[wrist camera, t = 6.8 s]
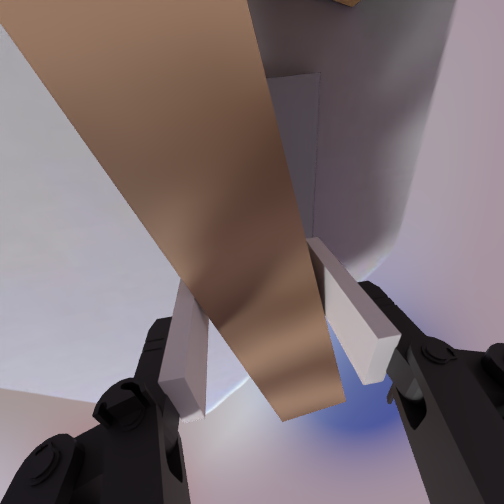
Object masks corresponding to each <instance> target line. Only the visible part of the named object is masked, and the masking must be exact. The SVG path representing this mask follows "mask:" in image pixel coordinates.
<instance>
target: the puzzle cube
mask: <svg viewBox="0 0 504 504" xmlns="http://www.w3.org/2000/svg"><path fill="white" fill-rule="evenodd" d="M334 1H337V2H340V3H342V4H345V5H348V6H350V7H353V6H354V5H356V4H357V3H358V2H359V1H361V0H334Z"/></svg>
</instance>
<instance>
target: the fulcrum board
mask: <svg viewBox="0 0 504 504" xmlns="http://www.w3.org/2000/svg"><path fill="white" fill-rule="evenodd" d="M320 73H321V72H318V73H309V74H301V75H292V76H284V77H275V78H266V80H267V84H268V88H269V92H270V96H271V100H272V104H273V108H274V112H275V116H276V120H277V124H278V129H279V133H280V137H281V141H282V145H283V149H284V153H285V157H286V161H287V165H288V169H289V173H290V177H291V181H292V185H293V189H294V193H295V197H296V201H297V205H298V209H299V213H300V217H301V222H302V226H303V230H304V234H305V238H306V239H307V238H312V236H313V215H314V195H315V175H316V154H317V134H318V114H319V93H320Z"/></svg>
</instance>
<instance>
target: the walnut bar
mask: <svg viewBox="0 0 504 504" xmlns="http://www.w3.org/2000/svg"><path fill="white" fill-rule="evenodd" d="M0 23H1V25H2V26H3V27H4V29H5V30H6V32H7V33H8V34H9V36H10V37H11V39H12V40H13V42H14V43H15V44H16V46H17V47H18V49H19V50H20V51H21V53H22V54H23V56H24V57H25V58H26V60H27V61H28V63H29V64H30V66H31V67H32V68H33V70H34V71H35V73H36V74H37V75H38V77H39V78H40V80H41V81H42V83H43V84H44V85H45V87H46V88H47V90H48V91H49V92H50V94H51V95H52V97H53V98H54V99H55V101H56V102H57V104H58V105H59V107H60V108H61V109H62V111H63V112H64V114H65V115H66V116H67V118H68V119H69V121H70V122H71V124H72V125H73V126H74V128H75V129H76V131H77V132H78V133H79V135H80V136H81V138H82V139H83V140H84V142H85V143H86V145H87V146H88V148H89V149H90V150H91V152H92V153H93V155H94V156H95V157H96V159H97V160H98V162H99V163H100V165H101V166H102V167H103V169H104V170H105V172H106V173H107V174H108V176H109V177H110V179H111V180H112V181H113V183H114V184H115V186H116V187H117V189H118V190H119V191H120V193H121V194H122V196H123V197H124V198H125V200H126V201H127V203H128V204H129V206H130V207H131V208H132V210H133V211H134V213H135V214H136V215H137V217H138V218H139V220H140V221H141V222H142V224H143V225H144V227H145V228H146V230H147V231H148V232H149V234H150V235H151V237H152V238H153V239H154V241H155V242H156V244H157V245H158V247H159V248H160V249H161V251H162V252H163V254H164V255H165V256H166V258H167V259H168V261H169V262H170V263H171V265H172V266H173V268H174V269H175V271H176V272H177V273H178V275H179V276H180V278H181V279H182V280H183V282H184V283H185V285H186V286H187V288H188V289H189V290H190V292H191V293H192V295H193V296H194V297H195V299H196V300H197V302H198V303H199V304H200V306H201V307H202V309H203V310H204V312H205V313H206V314H207V316H208V317H209V319H210V320H211V321H212V323H213V324H214V326H215V327H216V329H217V330H218V331H219V333H220V334H221V336H222V337H223V338H224V340H225V341H226V343H227V344H228V345H229V347H230V348H231V350H232V351H233V353H234V354H235V355H236V357H237V358H238V360H239V361H240V362H241V364H242V365H243V367H244V368H245V370H246V371H247V372H248V374H249V375H250V377H251V378H252V379H253V381H254V382H255V384H256V385H257V386H258V388H259V389H260V391H261V392H262V394H263V395H264V396H265V398H266V399H267V401H268V402H269V403H270V405H271V406H272V408H273V409H274V411H275V412H276V413H277V415H278V416H279V417H280V419H281V420H282V422H284V421H287V420H290V419H293V418H296V417H299V416H302V415H305V414H309V413H311V412H315V411H318V410H321V409H324V408H327V407H330V406H334V405H337V404H340V403H343V402H346V400H345V395H344V392H343V387H342V383H341V379H340V375H339V371H338V367H337V363H336V359H335V355H334V351H333V347H332V343H331V339H330V335H329V331H328V327H327V323H326V319H325V315H324V310H323V306H322V302H321V298H320V294H319V290H318V286H317V282H316V278H315V274H314V270H313V266H312V262H311V258H310V254H309V250H308V246H307V242H306V238H305V234H304V230H303V226H302V222H301V217H300V213H299V209H298V205H297V201H296V197H295V193H294V189H293V185H292V181H291V177H290V173H289V169H288V165H287V161H286V157H285V153H284V149H283V145H282V141H281V137H280V133H279V129H278V124H277V120H276V116H275V112H274V108H273V104H272V100H271V96H270V92H269V88H268V84H267V80H266V76H265V72H264V68H263V64H262V60H261V56H260V52H259V48H258V44H257V40H256V35H255V31H254V27H253V23H252V19H251V15H250V11H249V7H248V3H247V0H0Z"/></svg>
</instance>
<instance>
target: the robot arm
mask: <svg viewBox="0 0 504 504" xmlns="http://www.w3.org/2000/svg"><path fill="white" fill-rule="evenodd" d="M306 242H307V246H308V250H309V254H310V258H311V262H312V266H313V270H314V274H315V278H316V282H317V286H318V290H319V294H320V298H321V302H322V306H323V310H324V314H325V316H326V318H327V320H328V322H329V323H330V325H331V326H332V329H333V330H334V332H335V334H336V336H337V338H338V340H339V341H340V343H341V345H342V347H343V349H344V351H345V352H346V354H347V356H348V358H349V360H350V361H351V363H352V365H353V366H354V368H355V370H356V372H357V374H358V376H359V378H360V379H361V381H362V383H363V385H366V384H371V383H376V382H381V381H383V379H384V377H385V375H386V373H387V374H388V375H389V377H390V378H391V380H392V381H393V384H392V386H391V388H390V390H389V393H388V395H387V402H388V404H391V403H392V401H393V398H394V399H395V402H396V405H397V408H398V411H399V413H400V417H401V420H402V422H403V425H404V428H405V431H406V434H407V437H408V440H409V443H410V446H411V448H412V452H413V454H414V457H415V460H416V463H417V466H418V469H419V472H420V475H421V478H422V481H423V483H424V486H425V489H426V492H427V495H428V498H429V501H430V504H504V343H496V344H494V345H491V346H490V347H489V349H488V350H487V351H486V352H477V351H467V350H458V349H454V348H453V347H451V346H450V345H448V344H447V343H445V342H443V341H441V340H439V339H437V338H434V337H429V336H426V335H425V334H424V333H423V332H422V331H421V330H420V329H419V328H418V327H417V326H416V325H415V324H414V323H413V322H412V321H411V320H410V319H409V318H408V317H407V316H406V314H405V313H404V312H403V311H402V310H400V308H399V307H398V306H397V305H395V304H394V302H393V301H392V300H391V299H390V298H388V296H387V295H386V294H385V293H384V292H383V291H382V290H381V289H380V287H378V286H376V285H374V284H373V283H371V282H369V281H363V282H356V281H355V279H354V278H353V277H352V276H351V275H350V274H349V272H348V271H347V270H346V269H345V268H344V267H343V265H342V264H341V263H340V262H339V261H338V260H337V258H336V257H335V256H334V255H333V254H332V253H331V251H330V250H329V249H328V248H327V247H326V246H325V244H324V243H323V242H322V241H321V240H320V239H319V237H313V238H307V239H306ZM208 325H209V317H208V316H207V314H206V313H205V312H204V310H203V309H202V307H201V306H200V304H199V303H198V302H197V300H196V299H195V297H194V296H193V295H192V293H191V292H190V290H189V289H188V288H187V286H186V285H185V283H184V282H183V280H182V279H181V280H180V284H179V289H178V293H177V298H176V302H175V307H174V311H173V316H172V317H167V318H161V319H157V320H156V321H155V322H154V324H153V325H152V326H151V328H150V329H149V331H148V334H147V338H146V341H145V342H146V343H145V344H144V347H143V350H142V354H141V356H140V360H139V363H138V366H137V369H136V372H135V375H134V378H127V379H124V380H121V381H119V382H117V383H116V384H114V385H113V386H111V387H110V388H109V389H108V390H107V391H106V392H105V393H104V394H103V395H102V396H101V398H100V399H99V401H98V403H97V404H96V406H95V409H94V412H93V415H92V416H93V417H94V418H95V419H96V420H97V421H98V422H99V423H100V424H99V425H97V426H96V427H94V428H92V429H90V430H88V431H87V432H84V433H83V434H81V435H79V436H77V437H75V438H73V437H71V436H70V435H68V434H58V435H55V436H53V437H51V438H49V439H47V440H46V441H44V442H43V443H42V444H40V445H39V446H38V447H36V448H35V449H34V450H33V451H32V453H31V454H30V455H29V456H28V457H27V458H26V459H25V460H24V462H23V463H22V465H21V467H20V468H19V470H18V471H17V472H16V474H15V476H14V478H13V480H12V482H11V484H10V486H9V488H8V490H7V492H6V494H5V495H4V497H3V499H2V501H1V503H0V504H191V502H190V496H189V489H188V482H187V476H186V469H185V463H184V456H183V449H182V442H181V438H180V435H179V432H178V425H179V417H180V418H181V420H182V421H183V423H186V422H190V421H195V420H200V419H204V418H205V406H206V379H207V352H208Z"/></svg>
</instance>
